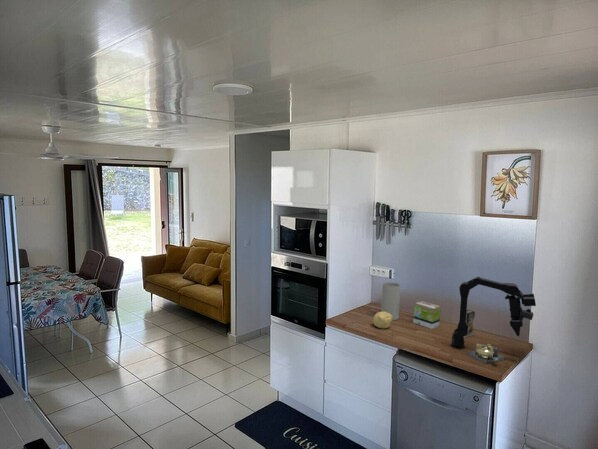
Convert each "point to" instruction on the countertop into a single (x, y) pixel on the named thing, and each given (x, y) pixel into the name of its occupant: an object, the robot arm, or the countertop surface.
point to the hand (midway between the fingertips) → (518, 333)
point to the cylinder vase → (391, 299)
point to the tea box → (426, 314)
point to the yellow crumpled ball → (382, 319)
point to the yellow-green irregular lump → (487, 351)
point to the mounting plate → (484, 360)
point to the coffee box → (469, 320)
